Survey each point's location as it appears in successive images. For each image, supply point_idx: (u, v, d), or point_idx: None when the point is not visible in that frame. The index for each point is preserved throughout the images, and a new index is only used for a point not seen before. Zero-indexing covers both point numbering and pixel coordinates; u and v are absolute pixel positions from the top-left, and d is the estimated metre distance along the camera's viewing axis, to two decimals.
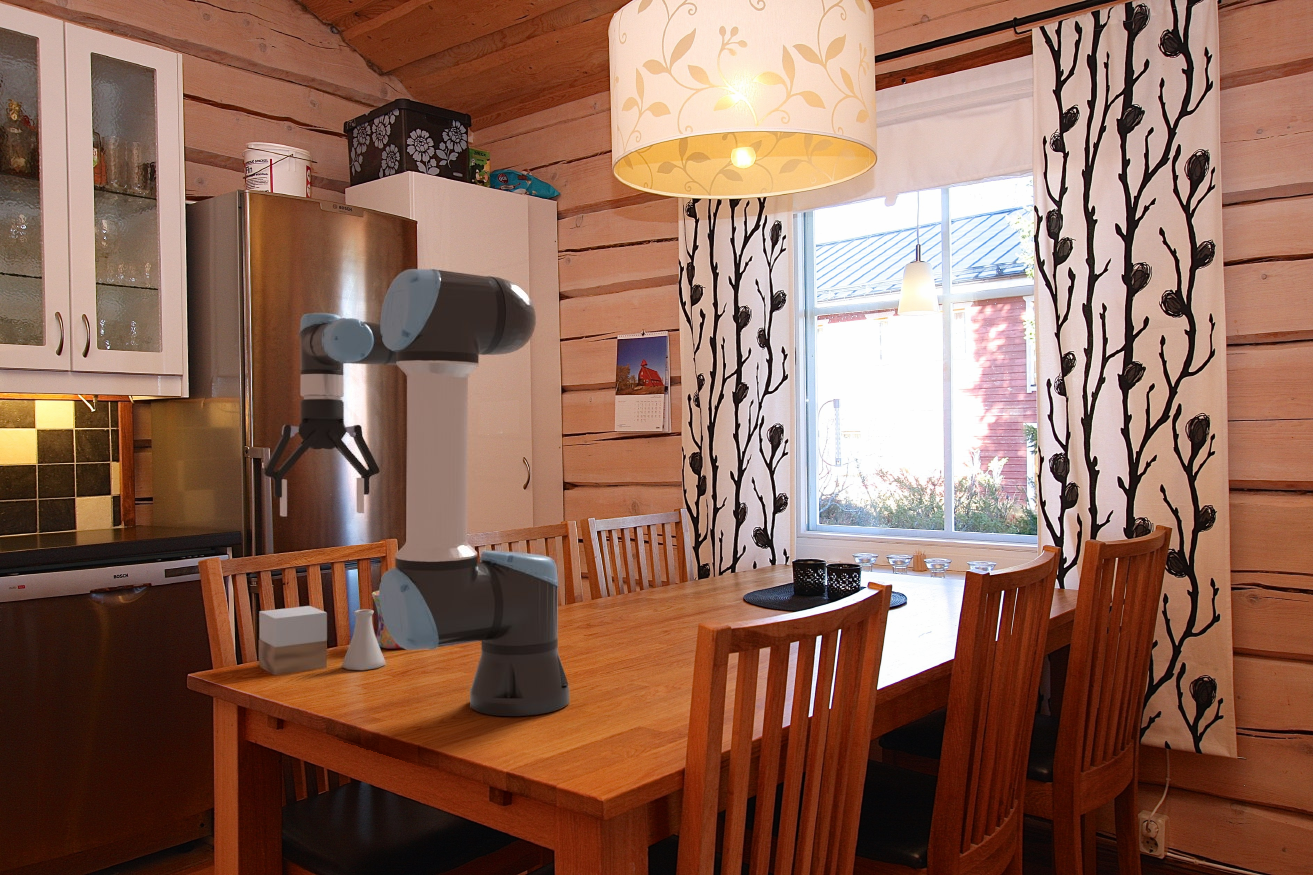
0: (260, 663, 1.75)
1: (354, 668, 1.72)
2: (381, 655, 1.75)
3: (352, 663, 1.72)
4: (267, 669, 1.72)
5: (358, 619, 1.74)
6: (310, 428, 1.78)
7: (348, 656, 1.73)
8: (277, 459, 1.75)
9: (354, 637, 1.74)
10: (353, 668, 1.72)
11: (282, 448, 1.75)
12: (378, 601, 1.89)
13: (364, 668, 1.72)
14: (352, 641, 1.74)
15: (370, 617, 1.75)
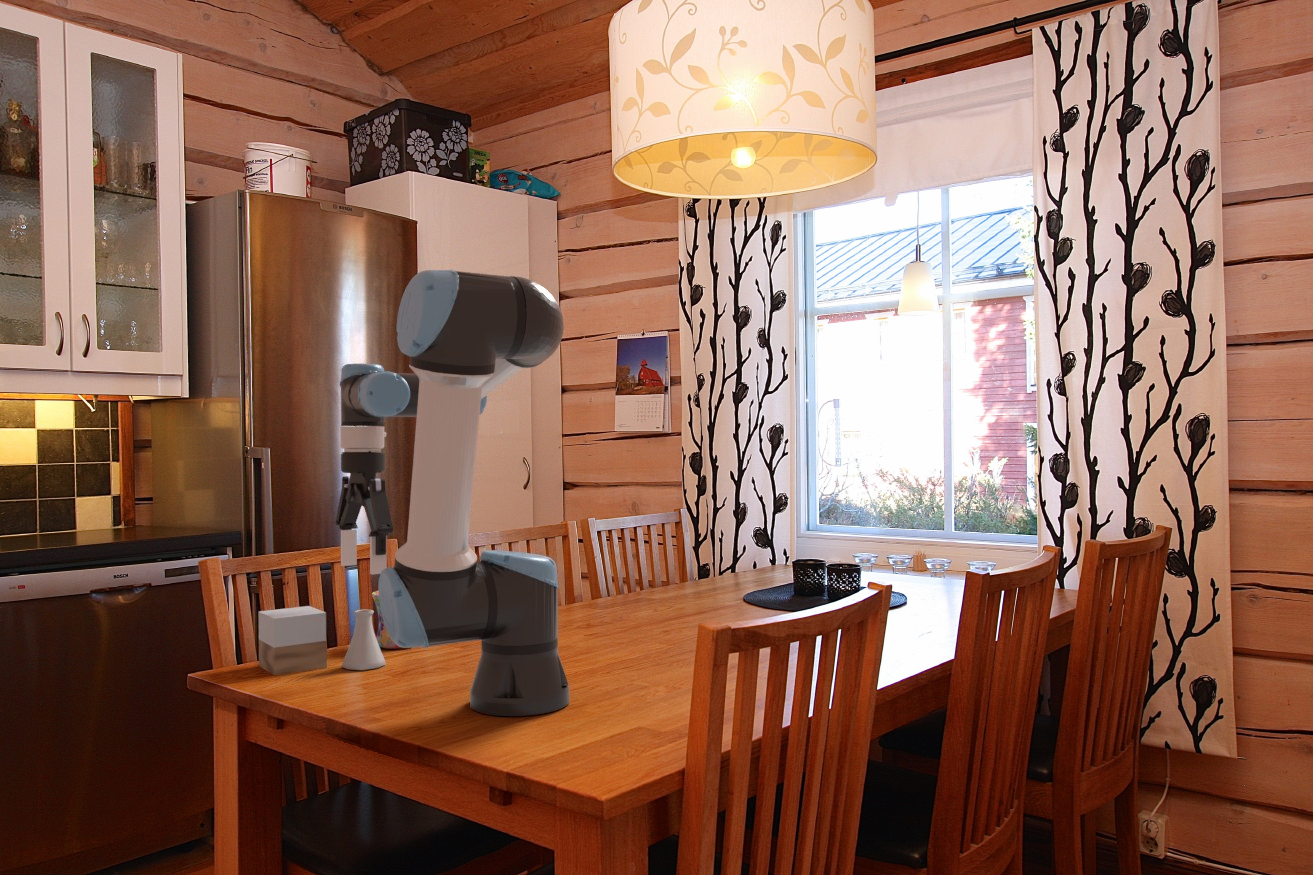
0: (260, 663, 1.75)
1: (354, 668, 1.72)
2: (381, 655, 1.75)
3: (352, 663, 1.72)
4: (267, 669, 1.72)
5: (358, 619, 1.74)
6: (352, 480, 1.76)
7: (348, 656, 1.73)
8: (339, 509, 1.81)
9: (354, 637, 1.74)
10: (353, 668, 1.72)
11: (341, 499, 1.80)
12: (378, 601, 1.89)
13: (364, 668, 1.72)
14: (352, 641, 1.74)
15: (370, 617, 1.75)
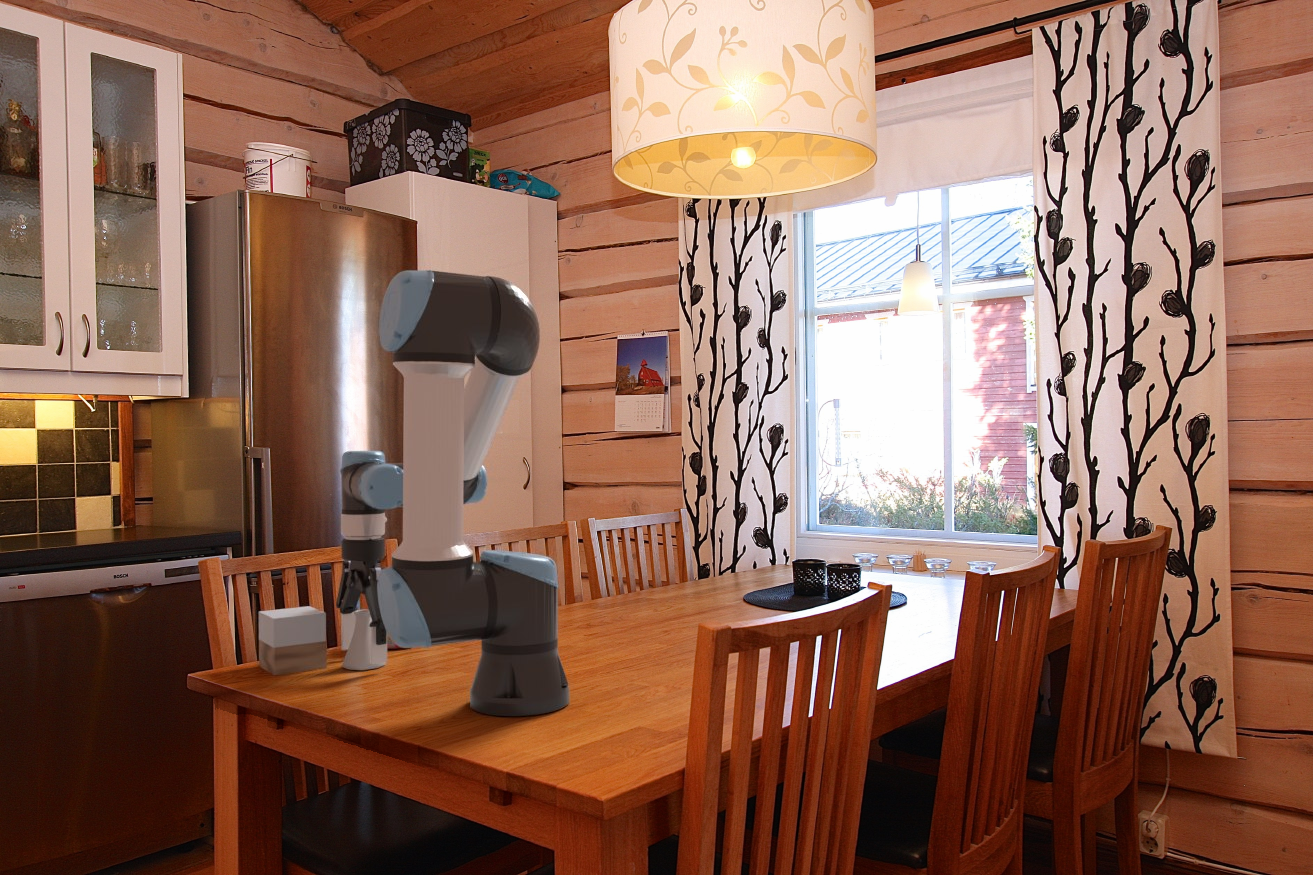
0: (260, 663, 1.75)
1: (354, 668, 1.72)
2: None
3: (352, 663, 1.72)
4: (267, 669, 1.72)
5: (358, 619, 1.74)
6: (352, 566, 1.76)
7: (348, 656, 1.73)
8: (340, 593, 1.81)
9: (354, 637, 1.74)
10: (353, 668, 1.72)
11: (342, 583, 1.80)
12: None
13: (364, 668, 1.72)
14: (352, 641, 1.74)
15: (370, 617, 1.75)
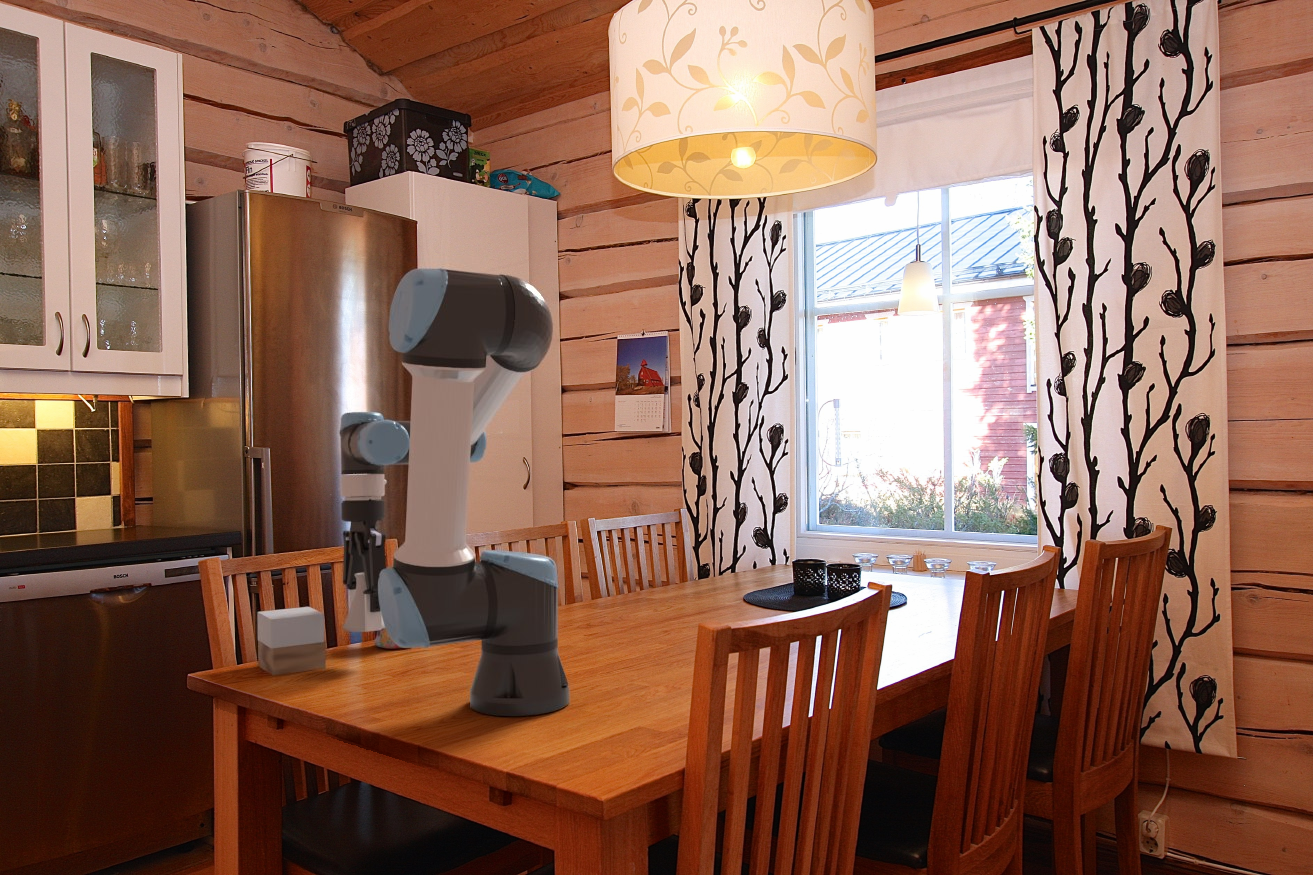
0: (259, 663, 1.75)
1: (355, 630, 1.71)
2: (382, 618, 1.75)
3: (353, 625, 1.72)
4: (266, 669, 1.72)
5: (359, 582, 1.74)
6: (352, 527, 1.76)
7: (349, 618, 1.73)
8: (345, 566, 1.79)
9: (355, 600, 1.74)
10: (354, 630, 1.71)
11: (345, 554, 1.79)
12: None
13: None
14: (353, 604, 1.74)
15: None
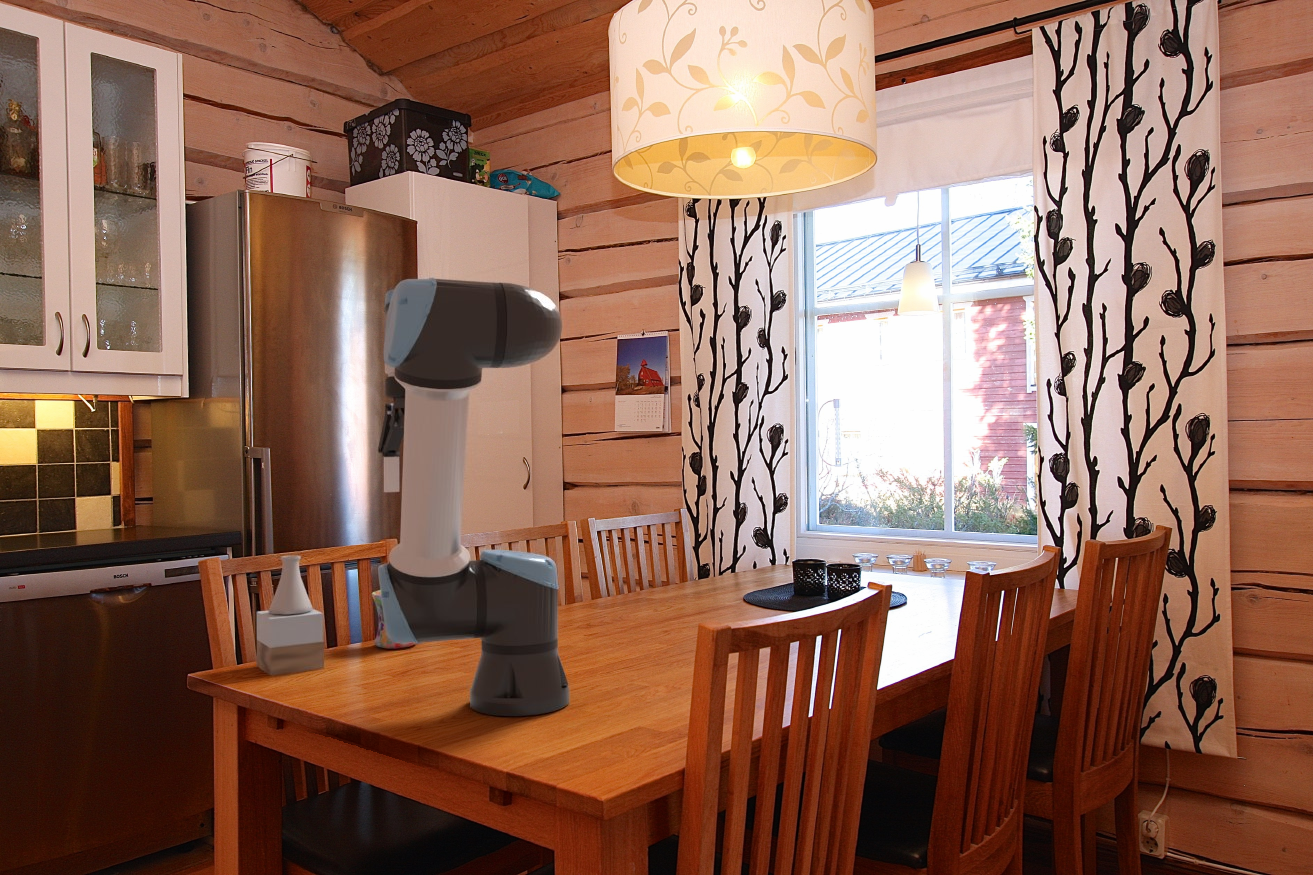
0: (258, 663, 1.75)
1: (279, 612, 1.72)
2: (308, 601, 1.75)
3: (277, 608, 1.72)
4: (264, 669, 1.72)
5: (284, 565, 1.74)
6: (395, 406, 1.78)
7: (274, 601, 1.73)
8: (382, 437, 1.83)
9: (280, 583, 1.74)
10: (278, 612, 1.72)
11: (384, 426, 1.82)
12: (378, 601, 1.89)
13: (289, 612, 1.72)
14: (278, 586, 1.74)
15: (297, 562, 1.75)
